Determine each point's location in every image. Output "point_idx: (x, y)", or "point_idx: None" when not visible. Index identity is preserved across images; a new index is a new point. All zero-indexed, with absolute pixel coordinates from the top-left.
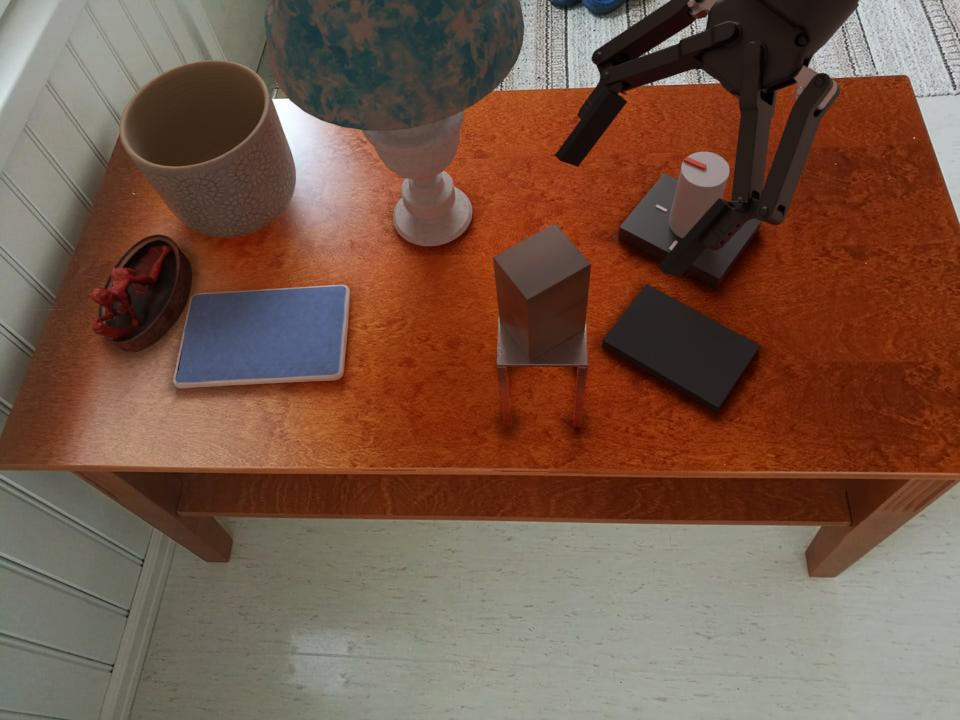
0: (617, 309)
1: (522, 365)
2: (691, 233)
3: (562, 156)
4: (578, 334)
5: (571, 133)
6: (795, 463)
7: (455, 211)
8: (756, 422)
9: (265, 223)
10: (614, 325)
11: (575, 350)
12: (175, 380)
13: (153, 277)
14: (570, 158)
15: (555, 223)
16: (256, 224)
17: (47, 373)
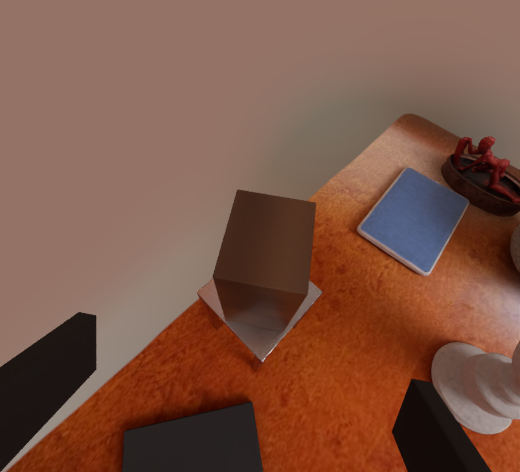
0: (270, 450)
1: None
2: (7, 378)
3: (417, 386)
4: None
5: (466, 437)
6: (41, 445)
7: (464, 402)
8: (90, 454)
9: (516, 257)
10: (255, 425)
11: (216, 295)
12: (409, 167)
13: (493, 186)
14: (409, 410)
15: (306, 294)
16: (517, 248)
17: (449, 136)
